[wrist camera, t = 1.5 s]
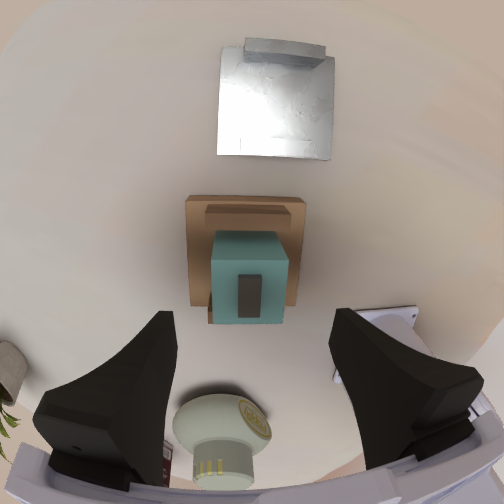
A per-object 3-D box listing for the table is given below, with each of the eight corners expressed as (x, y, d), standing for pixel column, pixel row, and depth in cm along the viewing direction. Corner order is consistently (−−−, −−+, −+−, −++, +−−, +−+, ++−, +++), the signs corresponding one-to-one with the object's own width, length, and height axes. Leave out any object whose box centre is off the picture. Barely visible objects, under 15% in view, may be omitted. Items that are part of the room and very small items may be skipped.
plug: (271, 283, 21) (283, 328, 16) (216, 283, 21) (212, 329, 15) (275, 231, 19) (290, 264, 14) (215, 230, 19) (210, 263, 14)
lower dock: (328, 159, 20) (343, 163, 17) (217, 154, 19) (215, 156, 16) (331, 59, 17) (347, 48, 14) (222, 49, 16) (220, 34, 13)
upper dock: (290, 293, 24) (302, 324, 19) (193, 293, 23) (186, 325, 19) (299, 197, 21) (316, 212, 17) (189, 195, 20) (178, 210, 16)
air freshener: (275, 419, 31) (287, 488, 21) (220, 437, 32) (220, 501, 22) (226, 371, 27) (227, 457, 17) (164, 395, 28) (151, 470, 18)
